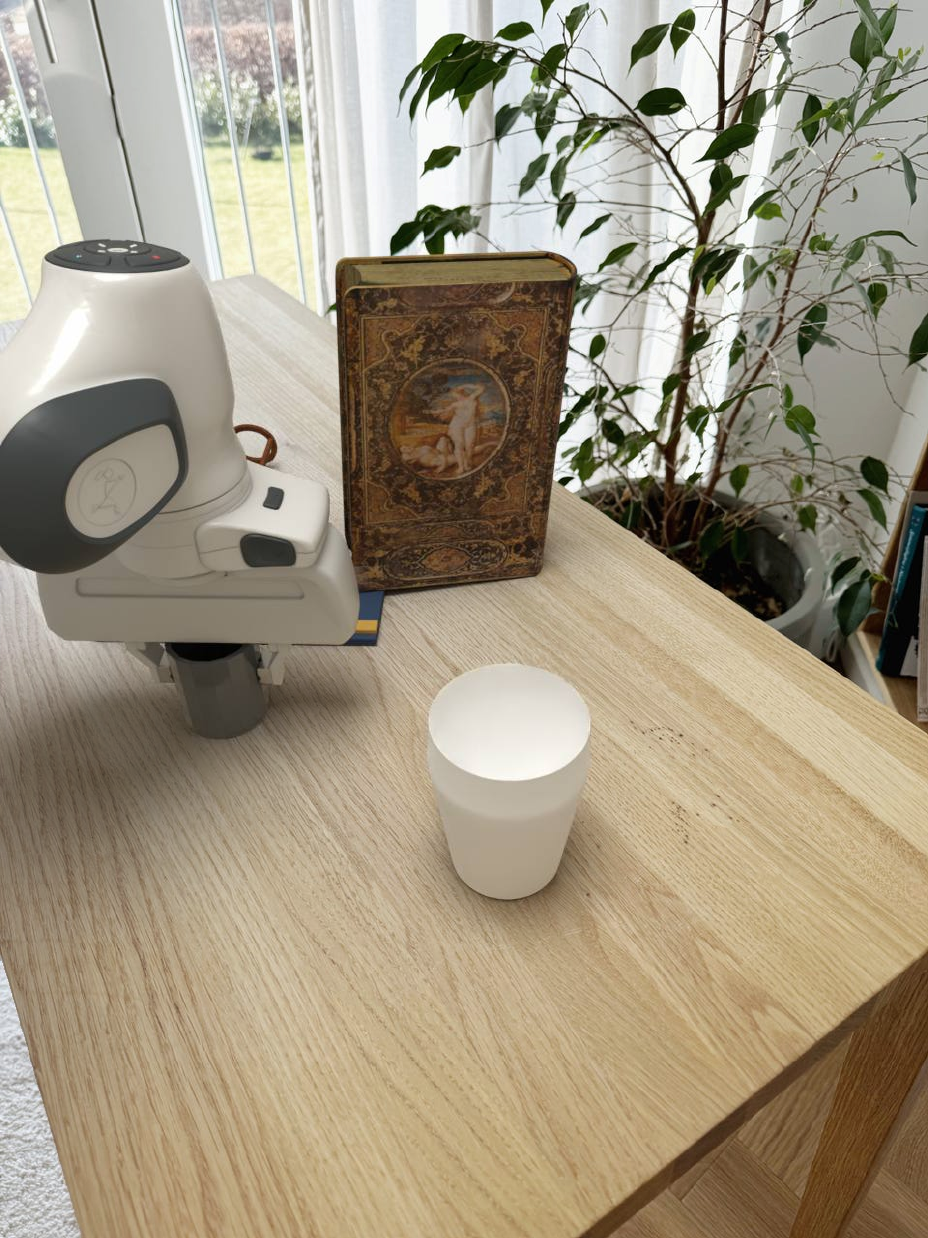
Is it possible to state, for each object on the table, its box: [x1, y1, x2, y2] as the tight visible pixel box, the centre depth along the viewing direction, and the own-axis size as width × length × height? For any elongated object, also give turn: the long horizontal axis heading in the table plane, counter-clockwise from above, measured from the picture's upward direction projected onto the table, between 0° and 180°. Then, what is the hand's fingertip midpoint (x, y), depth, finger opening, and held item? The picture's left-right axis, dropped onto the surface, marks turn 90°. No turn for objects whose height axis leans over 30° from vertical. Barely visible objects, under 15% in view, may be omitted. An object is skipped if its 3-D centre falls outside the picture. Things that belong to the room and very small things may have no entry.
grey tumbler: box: [163, 642, 271, 740], centre depth 67 cm, size 6×6×7 cm
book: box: [334, 250, 578, 591], centre depth 74 cm, size 16×6×25 cm, turn 102°
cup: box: [426, 663, 591, 900], centre depth 56 cm, size 9×9×12 cm
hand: (221, 678), depth 68 cm, fingers closed on grey tumbler, 6 cm apart
